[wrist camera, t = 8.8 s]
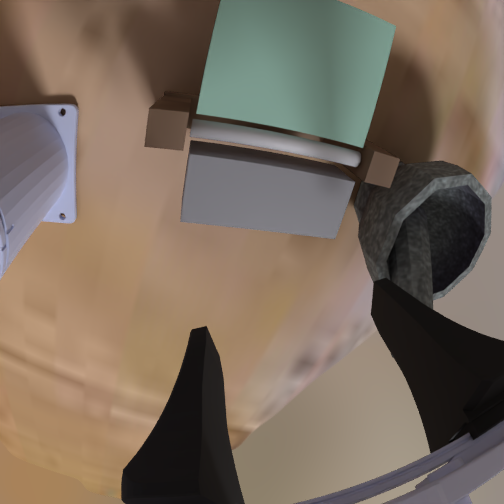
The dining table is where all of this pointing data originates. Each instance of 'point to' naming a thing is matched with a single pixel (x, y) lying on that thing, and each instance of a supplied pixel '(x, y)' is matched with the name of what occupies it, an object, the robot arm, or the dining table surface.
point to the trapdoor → (284, 113)
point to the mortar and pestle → (424, 227)
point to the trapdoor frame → (184, 111)
